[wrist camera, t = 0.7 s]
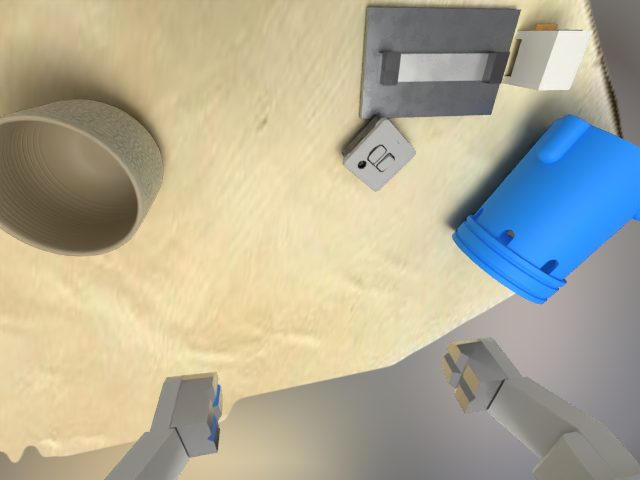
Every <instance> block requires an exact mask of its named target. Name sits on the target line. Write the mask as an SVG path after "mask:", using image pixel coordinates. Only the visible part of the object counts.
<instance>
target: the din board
mask: <svg viewBox="0 0 640 480" xmlns="http://www.w3.org/2000/svg"><path fill="white" fill-rule="evenodd" d="M520 11H521V10H516V9H454V8H392V7H368V8H366V21H365V36H364V51H363V65H362V80H361V95H360V109H359V117H360V118H361V119H370V118H374V117H376V116H377V117H378V118H384V117H386V118H402V117H433V116H464V115H491V113H492V109H493V106H494V102H495V99H496V95H497V92H498V88H499V85H500V84H501V82H502V78H503V75H504V71H505V68H506V65H507V61H508V58H509V54H510V52H509V50H510V46H511V43H512V39H513V36H514V32H515V29H516V25H517V22H518V18H519V15H520Z"/></svg>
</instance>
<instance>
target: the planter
mask: <svg viewBox="0 0 640 480" xmlns="http://www.w3.org/2000/svg"><path fill="white" fill-rule="evenodd" d="M162 179H163V162H162V157H161V154H160V151H159V149H158V146H157V144H156V143H155V141H154V139H153V138H152V136H151V135H150V134H149V132H148V131H147V130H146V129H145V128H144V127H143V126H142V125H141V124H140V123H139V122H138V121H137V120H135V119H134V118H133V117H131V116H130V115H129V114H127V113H125V112H124V111H122V110H120V109H118V108H116V107H114V106H111V105H108V104H105V103H102V102H98V101H93V100H84V99H72V100H64V101H57V102H53V103H50V104H46V105H42V106H38V107H34V108H29V109H25V110H21V111H17V112H14V113H10V114H7V115H3V116H0V228H1V229H2V230H3V231H5V232H6V233H8V234H9V235H11V236H13V237H14V238H16V239H18V240H20V241H22V242H24V243H26V244H28V245H30V246H33V247H35V248H38V249H41V250H44V251H47V252H51V253H55V254H60V255H67V256H94V255H100V254H104V253H107V252H110V251H113V250H115V249H117V248H119V247H121V246H122V245H124V244H125V243H126V242H128V241H129V240H130V239H131V238H132V237H133V235H134V234H135V233H136V231H137V230H138V228H139V227H140V225H141V224H142V222H143V220H144V218H145V216H146V215H147V213H148V211H149V209H150V207H151V205H152V203H153V201H154V199H155V198H156V196H157V194H158V192H159V189H160V186H161V183H162Z"/></svg>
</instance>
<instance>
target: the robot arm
mask: <svg viewBox="0 0 640 480" xmlns="http://www.w3.org/2000/svg"><path fill="white" fill-rule="evenodd" d="M447 350H448V352H449V353H447V354H446V355H445V356H444V358H443V361H442V368H443V372H444V375H445V378H446V380H447V382H448V383H449V384H450V385H452V386H453V387H455V397H456V399H457V400H458V402H459V404H460V406H461V408H462V410H463V411H464V413H470V412H478V411H486V410H488V411H487V412H488V413H489V414H490V415H491V416H493V417H494V418H495V419H496V420H497V421H499V423H501V424H502V425H503V426H504V427H505V428H506V429H507V430H509V431H510V432H511V433H512V434H513V435H514V436H516V437H517V438H518V439H519V440H520V441H521V442H523V444H525V445H526V446H527V447H528V448H529V449H530V450H531V451H533V452H534V453H535V454H536V455H537V456H538V457H540V458H541V459H542V460H541V461H540V462H539V463H538V464H537V465H536V466H535V468H534V470H533V474H534V476H535V478H536V479H537V480H640V465H639V464H638V462H637V461H636V460H635V459H634V458H633V457H632V456H631V455H630V453H629V452H628V451H627V450H626V449H625V448H624V446H623V445H622V444H621V443H620V442H619V441H618V440H617V438H616V437H615V436H614V435H613V434H612V433H611V432H610V430H609V429H608V428H607V427H606V426H605V425H604V424H602V423H600V422H599V421H597V420H596V419H594V418H592V417H591V416H589V415H588V414H586V413H584V412H583V411H581V410H579V409H578V408H576V407H575V406H573V405H571V404H570V403H568V402H567V401H565V400H563V399H562V398H560V397H559V396H557V395H555V394H554V393H552V392H551V391H549V390H547V389H546V388H544V387H542V386H541V385H539V384H538V383H536V382H534V381H533V380H531V379H530V378H528V377H522V375H521V374H520V373H519V371H518V370H517V369H516V367H515V366H514V365H513V364H512V362H511V361H510V360H509V358H508V357H507V356H506V354H505V353H504V352H503V351H502V349H501V348H500V347H499V345H498V344H497V343H496V341H495V340H494V339H492V338H491V337H487V338H480V339H470V340H463V341H456V342H451V343H450V344H448V347H447ZM221 416H222V390H221V386H220V385H218V375H217V372H210V373H201V374H193V375H182V376H174V377H167V378H166V380H165V382H164V383H163V387H162V390H161V394H160V397H159V401H158V405H157V408H156V412H155V415H154V419H153V422H152V426H151V429H150V432H145V433H144V434H143V435H142V436H141V437H140V439H139V440H138V441H137V442H136V443H135V444H134V445H133V447H132V448H131V449H130V450H129V451H128V452H127V454H126V455H125V456H124V457H123V458H122V459H121V461H120V462H119V463H118V464H117V465H116V466H115V468H114V469H113V470H112V471H111V472H110V473H109V474H108V476H107V477H106V478H105V479H104V480H177V479H178V477H179V476H180V474H181V472H182V471H183V469H184V467H185V466H186V464H187V462H188V461H189V458H190V457H196V456H201V455H206V454H212V453H217V452H218V444H219V434H220V428H219V425H218V420H219V418H220V417H221Z"/></svg>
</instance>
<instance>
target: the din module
mask: <svg viewBox="0 0 640 480" xmlns="http://www.w3.org/2000/svg"><path fill="white" fill-rule="evenodd" d="M557 25H558V24H537V26H536V29H535V31H517V33H516V37H515V39H522V41H521V44H520V48H519V51H518V55H517V58H516V61H515V65H514V68H513V71H512V75H511V76H504V78H503V82H502V83H504V84H509V85H514V86H519V87H524V88H529V89H534V90H570V87H571V85H572V82H573V80H574V77H575V75H576V72H577V70H578V67H579V65H580V62H581V60H582V57H583V55H584V52H585V50H586V47H587V45H588V42H589V40H590V37H591V35H592V32H593V31H583V30H556V28H557Z"/></svg>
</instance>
